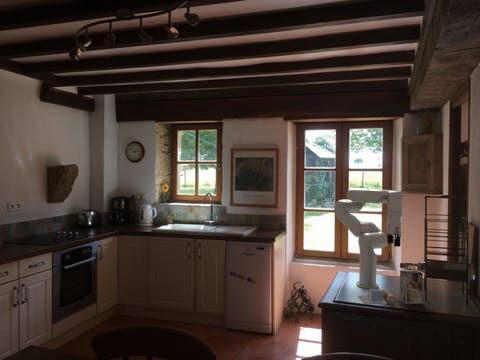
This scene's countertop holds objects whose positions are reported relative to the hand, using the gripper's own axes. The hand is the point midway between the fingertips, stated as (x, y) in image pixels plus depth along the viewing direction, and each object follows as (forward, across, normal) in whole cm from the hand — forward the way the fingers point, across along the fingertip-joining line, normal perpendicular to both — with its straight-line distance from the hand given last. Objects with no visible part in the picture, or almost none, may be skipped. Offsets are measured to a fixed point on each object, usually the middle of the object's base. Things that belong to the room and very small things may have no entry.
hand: (393, 244), depth 205 cm
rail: (+28, +8, -6) cm, 30 cm away
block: (+25, +8, -9) cm, 28 cm away
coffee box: (+28, +9, +6) cm, 30 cm away
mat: (+28, +8, -14) cm, 32 cm away
